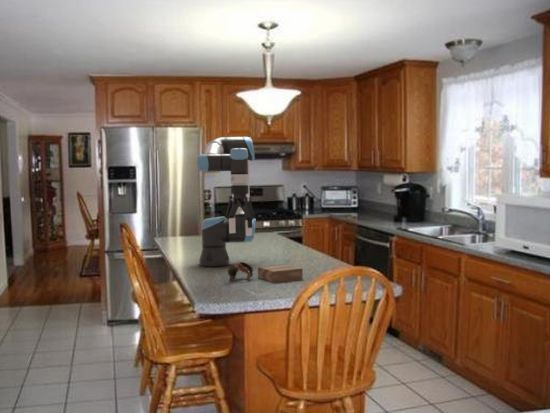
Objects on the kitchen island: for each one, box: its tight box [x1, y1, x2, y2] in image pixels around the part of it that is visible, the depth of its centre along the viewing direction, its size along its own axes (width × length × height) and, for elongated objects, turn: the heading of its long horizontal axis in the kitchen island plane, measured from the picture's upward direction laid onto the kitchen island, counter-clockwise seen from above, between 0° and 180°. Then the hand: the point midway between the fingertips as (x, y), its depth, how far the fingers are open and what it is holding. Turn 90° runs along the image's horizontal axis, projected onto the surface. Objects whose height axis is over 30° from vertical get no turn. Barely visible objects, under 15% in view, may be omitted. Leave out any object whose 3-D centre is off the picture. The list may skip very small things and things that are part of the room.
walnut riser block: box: [257, 264, 304, 284], centre depth 242 cm, size 14×14×5 cm
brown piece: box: [227, 261, 254, 281], centre depth 240 cm, size 12×9×8 cm
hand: (240, 234), depth 241 cm, fingers open, 13 cm apart
